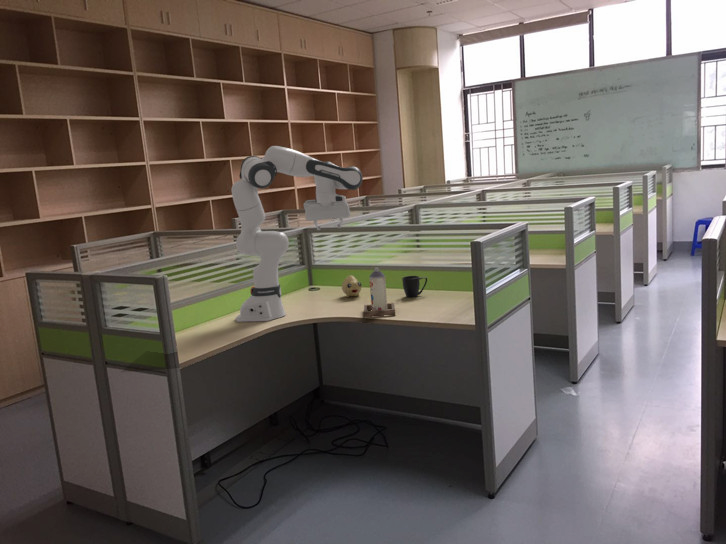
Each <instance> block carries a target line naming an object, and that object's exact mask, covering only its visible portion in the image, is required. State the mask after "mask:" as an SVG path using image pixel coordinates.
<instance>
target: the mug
mask: <svg viewBox="0 0 726 544" xmlns="http://www.w3.org/2000/svg"><path fill="white" fill-rule="evenodd" d="M422 279H425V281H424V283H423V284H424V285H423V286H422V288H421V290H420V285H421V284H420V280H422ZM401 281H402V287H403V291H404V294H405V297H406V298H409V299H410V298H411V299H412V298H413V297H414V298H417V297H418V296H420V295H421V294H422V293H423V291H424V289H425V287H426V285H427V282H428V278H427V277H426V276H423V277H420V276H419V275H407V276H403V277H402V280H401Z"/></svg>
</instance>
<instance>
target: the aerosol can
mask: <svg viewBox="0 0 726 544" xmlns="http://www.w3.org/2000/svg"><path fill="white" fill-rule="evenodd" d="M379 269H380V268H379V267H374V270H373V272H371V274H369V287H370V288H369V289H370V291H369V292H370V303H371V304H370V305H372V311H375V310H389V309H387V303H388V298H387V285H386V283H387V282H386V275H385V273H383V272H382V271H381V270H379Z"/></svg>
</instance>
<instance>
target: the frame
mask: <svg viewBox="0 0 726 544" xmlns="http://www.w3.org/2000/svg"><path fill="white" fill-rule="evenodd" d="M387 309H388V310H375V311H367V310H372V304H364V305H363V317H366V318H373V317H372V316H380V317H385V316H384V315H393V316H396V306H395V302H389V303H388V302H387Z"/></svg>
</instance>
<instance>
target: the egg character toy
mask: <svg viewBox="0 0 726 544" xmlns="http://www.w3.org/2000/svg"><path fill="white" fill-rule="evenodd" d="M341 290H342V291H343V293H344V294H345V295H346V298H350V297H354V296H356V297H360V293H361V290H362V282H360V281H359V280H358V279H357V278H356V277H355V276H354V275H350V274H349V275H348V276H346V277H345V278H344V279H343V282H342V284H341Z"/></svg>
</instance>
